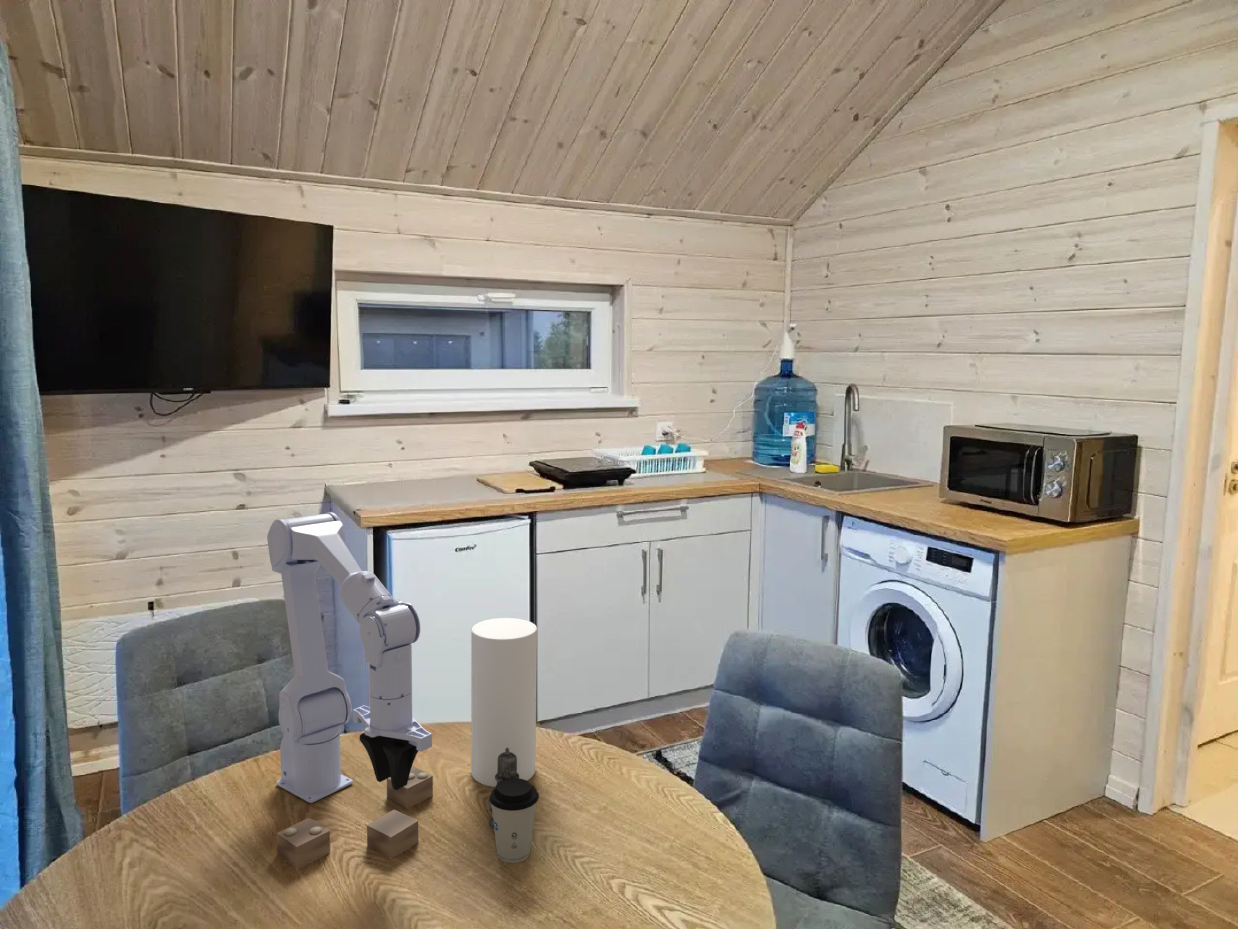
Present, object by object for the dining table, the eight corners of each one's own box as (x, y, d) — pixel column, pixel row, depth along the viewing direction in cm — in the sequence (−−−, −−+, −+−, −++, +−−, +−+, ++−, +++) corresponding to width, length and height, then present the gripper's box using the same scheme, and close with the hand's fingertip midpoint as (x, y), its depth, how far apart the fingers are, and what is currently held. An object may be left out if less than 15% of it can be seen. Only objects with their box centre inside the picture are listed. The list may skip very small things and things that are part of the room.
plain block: (367, 848, 119) (366, 825, 118) (394, 831, 123) (394, 809, 123) (391, 860, 116) (391, 837, 116) (418, 843, 120) (418, 820, 120)
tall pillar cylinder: (531, 788, 136) (533, 640, 132) (465, 786, 136) (465, 638, 132) (538, 756, 146) (540, 618, 143) (477, 754, 146) (477, 616, 143)
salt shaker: (519, 836, 122) (519, 759, 121) (481, 830, 123) (481, 754, 122) (531, 814, 128) (532, 740, 126) (494, 809, 129) (495, 736, 127)
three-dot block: (387, 798, 132) (386, 776, 131) (412, 786, 136) (412, 764, 135) (407, 810, 129) (407, 787, 128) (432, 796, 133) (432, 774, 132)
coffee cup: (546, 844, 120) (547, 779, 119) (525, 873, 114) (526, 804, 112) (502, 834, 123) (503, 770, 121) (479, 861, 116) (480, 794, 115)
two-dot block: (277, 856, 116) (276, 831, 116) (309, 840, 120) (309, 816, 120) (297, 870, 113) (296, 845, 113) (329, 854, 117) (329, 829, 117)
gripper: (333, 687, 117) (336, 777, 119) (403, 715, 109) (404, 812, 111) (374, 672, 123) (376, 758, 125) (443, 697, 115) (443, 790, 117)
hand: (392, 782), depth 118 cm, fingers open, 3 cm apart
